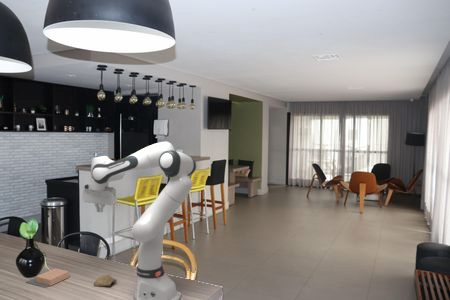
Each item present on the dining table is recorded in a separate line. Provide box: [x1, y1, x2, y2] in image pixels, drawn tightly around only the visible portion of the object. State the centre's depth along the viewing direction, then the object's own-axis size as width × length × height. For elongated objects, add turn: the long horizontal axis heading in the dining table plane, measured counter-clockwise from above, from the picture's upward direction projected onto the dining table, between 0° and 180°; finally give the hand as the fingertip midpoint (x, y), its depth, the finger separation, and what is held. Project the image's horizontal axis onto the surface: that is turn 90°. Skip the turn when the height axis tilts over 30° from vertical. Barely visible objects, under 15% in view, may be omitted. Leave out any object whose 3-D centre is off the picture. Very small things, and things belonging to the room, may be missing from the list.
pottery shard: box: [93, 274, 117, 287], centre depth 184 cm, size 11×4×10 cm
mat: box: [25, 274, 71, 289], centre depth 188 cm, size 14×16×1 cm
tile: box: [35, 268, 70, 287], centre depth 187 cm, size 3×12×10 cm
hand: (99, 211), depth 191 cm, fingers closed
